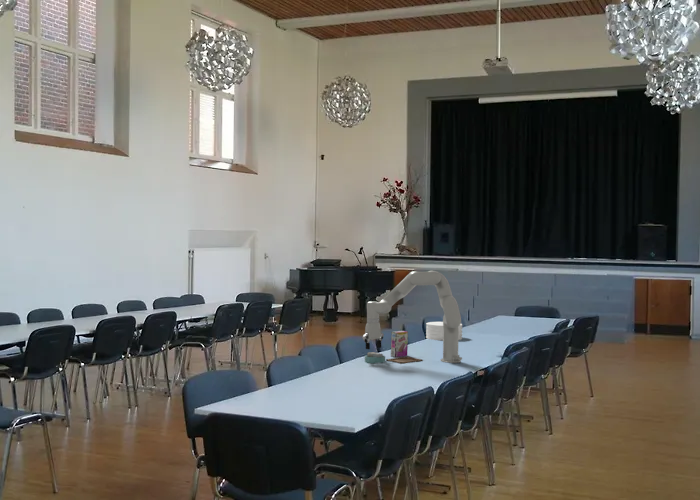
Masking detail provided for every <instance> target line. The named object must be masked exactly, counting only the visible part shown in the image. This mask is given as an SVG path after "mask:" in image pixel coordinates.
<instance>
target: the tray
mask: <svg viewBox="0 0 700 500" xmlns="http://www.w3.org/2000/svg"><path fill="white" fill-rule="evenodd" d="M386 361H387V362H392V363H397V364H408V363H417V362H423V359H421V358H416V357H411V356H401V357H392V358H387V359H386V358H385V362H386Z"/></svg>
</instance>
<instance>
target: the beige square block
mask: <svg viewBox="0 0 700 500" xmlns="http://www.w3.org/2000/svg"><path fill="white" fill-rule="evenodd" d="M375 353H376V352H373V351H372V352H367V354H366V355H367V357H373V354H375Z"/></svg>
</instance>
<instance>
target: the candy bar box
mask: <svg viewBox="0 0 700 500" xmlns="http://www.w3.org/2000/svg"><path fill="white" fill-rule="evenodd" d="M390 336H391V338H390V357H392V358H400V357H408V347H409V344H408V343H409V331H406V330H398V331H391V335H390Z"/></svg>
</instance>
